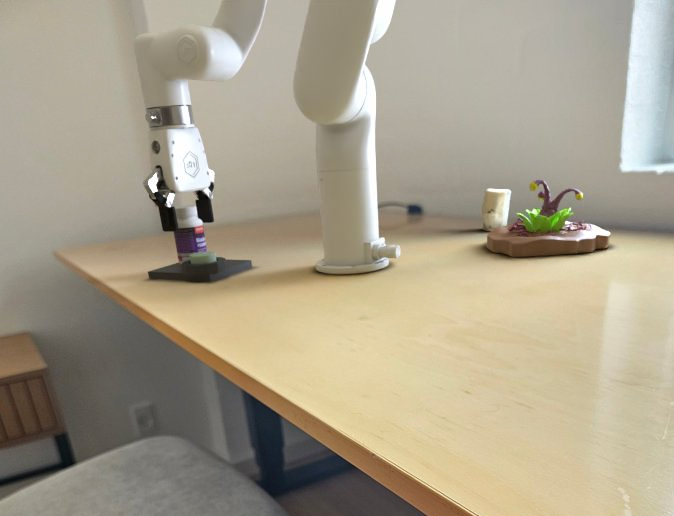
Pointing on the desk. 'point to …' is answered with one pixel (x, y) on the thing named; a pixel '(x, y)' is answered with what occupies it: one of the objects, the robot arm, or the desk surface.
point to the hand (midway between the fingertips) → (189, 226)
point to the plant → (547, 231)
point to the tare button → (203, 257)
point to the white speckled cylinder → (495, 208)
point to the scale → (200, 270)
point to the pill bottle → (189, 233)
